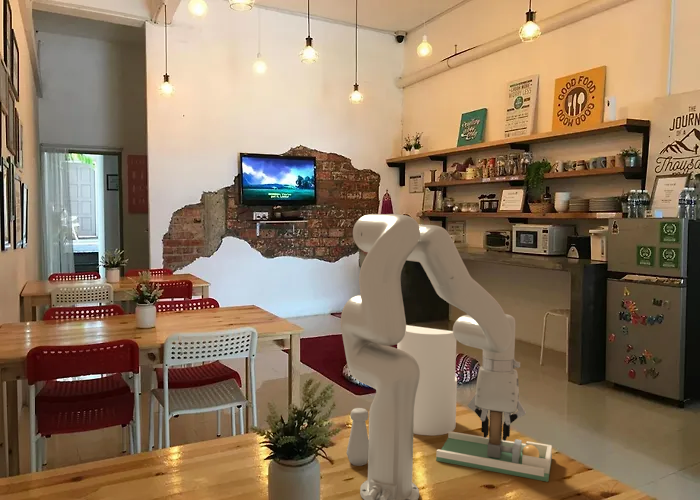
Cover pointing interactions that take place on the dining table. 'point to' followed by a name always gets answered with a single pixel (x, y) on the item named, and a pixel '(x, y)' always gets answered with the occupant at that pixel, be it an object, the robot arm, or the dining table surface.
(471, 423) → the dining table surface
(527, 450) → the ball
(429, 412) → the cylinder
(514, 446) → the striker
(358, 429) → the salt shaker
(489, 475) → the dining table surface
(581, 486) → the dining table surface
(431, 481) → the dining table surface
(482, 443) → the pitch
